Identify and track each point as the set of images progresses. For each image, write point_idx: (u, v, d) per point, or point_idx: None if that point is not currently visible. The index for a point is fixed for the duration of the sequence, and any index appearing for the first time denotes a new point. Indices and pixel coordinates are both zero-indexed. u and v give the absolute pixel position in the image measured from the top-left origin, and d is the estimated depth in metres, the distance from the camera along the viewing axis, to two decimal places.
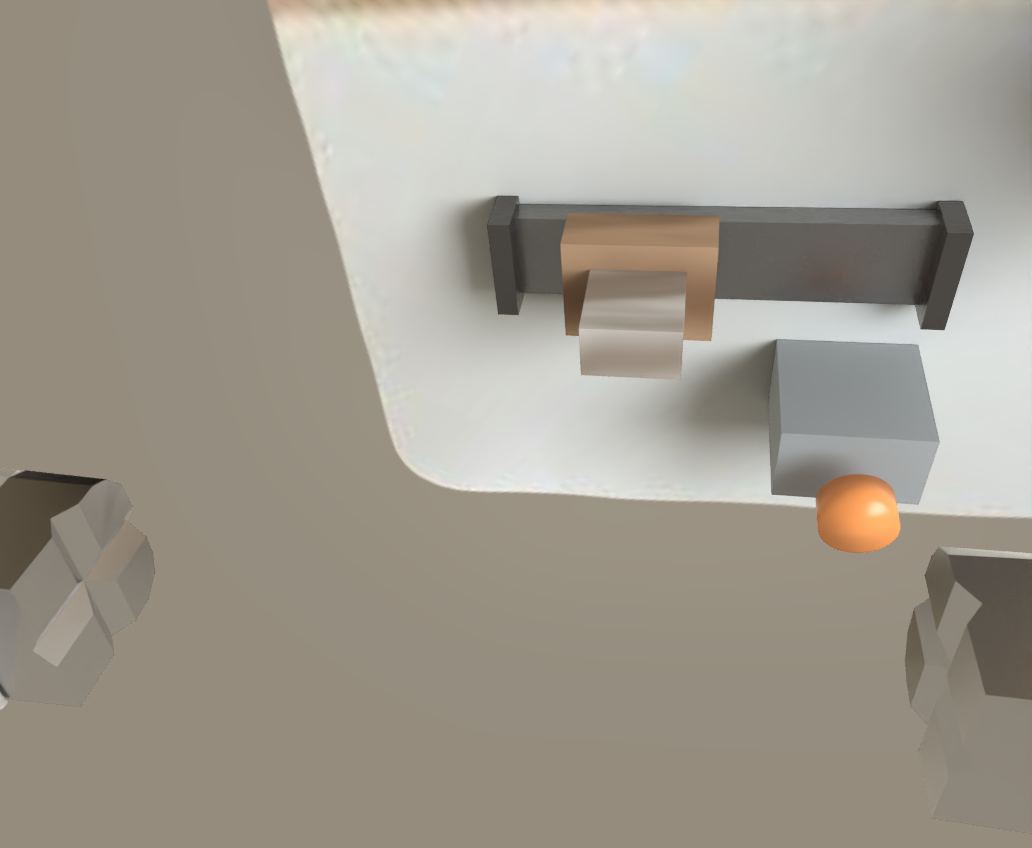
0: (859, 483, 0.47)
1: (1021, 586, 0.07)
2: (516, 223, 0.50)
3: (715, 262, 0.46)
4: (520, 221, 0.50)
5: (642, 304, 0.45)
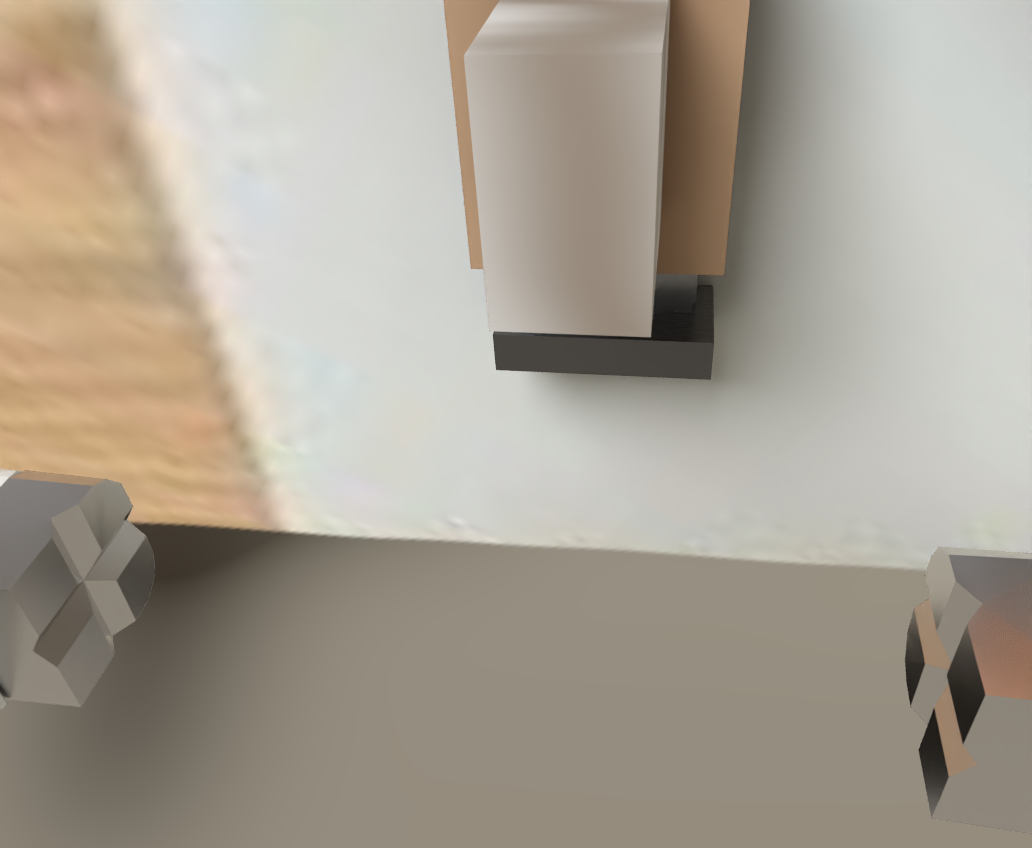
0: None
1: (1021, 586, 0.07)
2: None
3: None
4: None
5: None
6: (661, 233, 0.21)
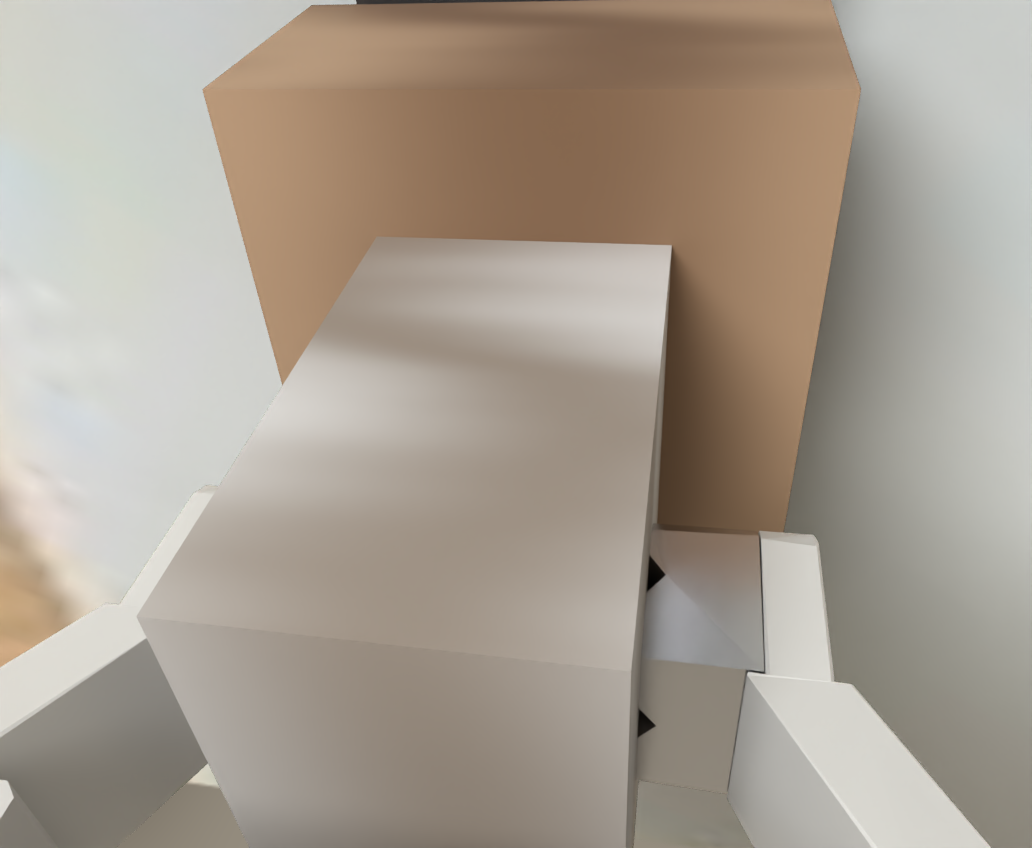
0: None
1: (707, 558, 0.08)
2: None
3: (291, 97, 0.09)
4: None
5: None
6: None
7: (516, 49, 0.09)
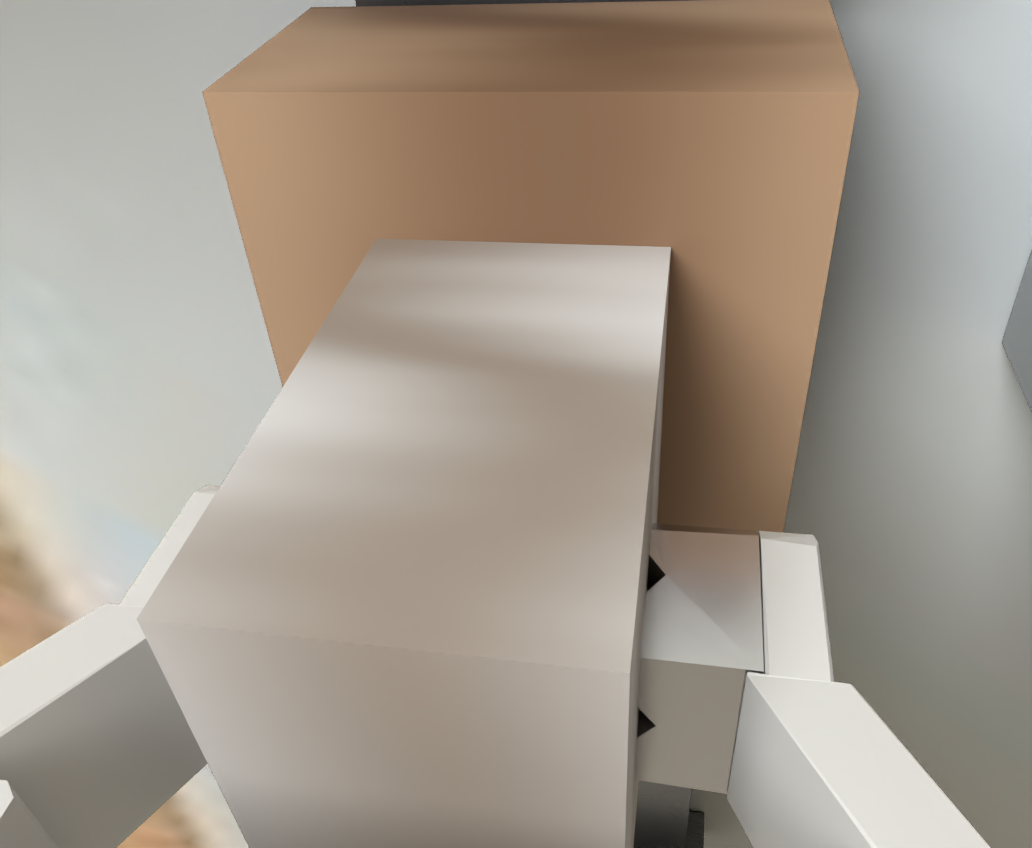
0: None
1: (707, 558, 0.08)
2: None
3: (291, 100, 0.09)
4: None
5: None
6: None
7: (515, 51, 0.09)
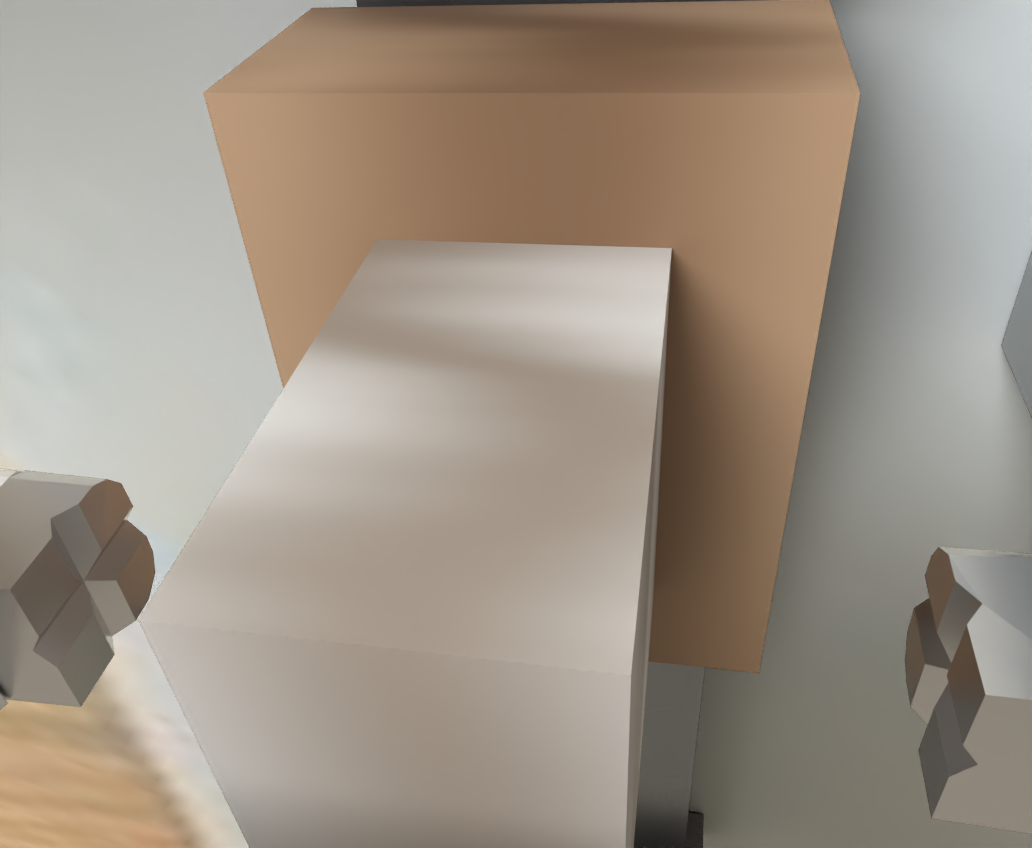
0: None
1: (1021, 586, 0.07)
2: None
3: (293, 101, 0.09)
4: None
5: None
6: (654, 613, 0.12)
7: (516, 52, 0.09)
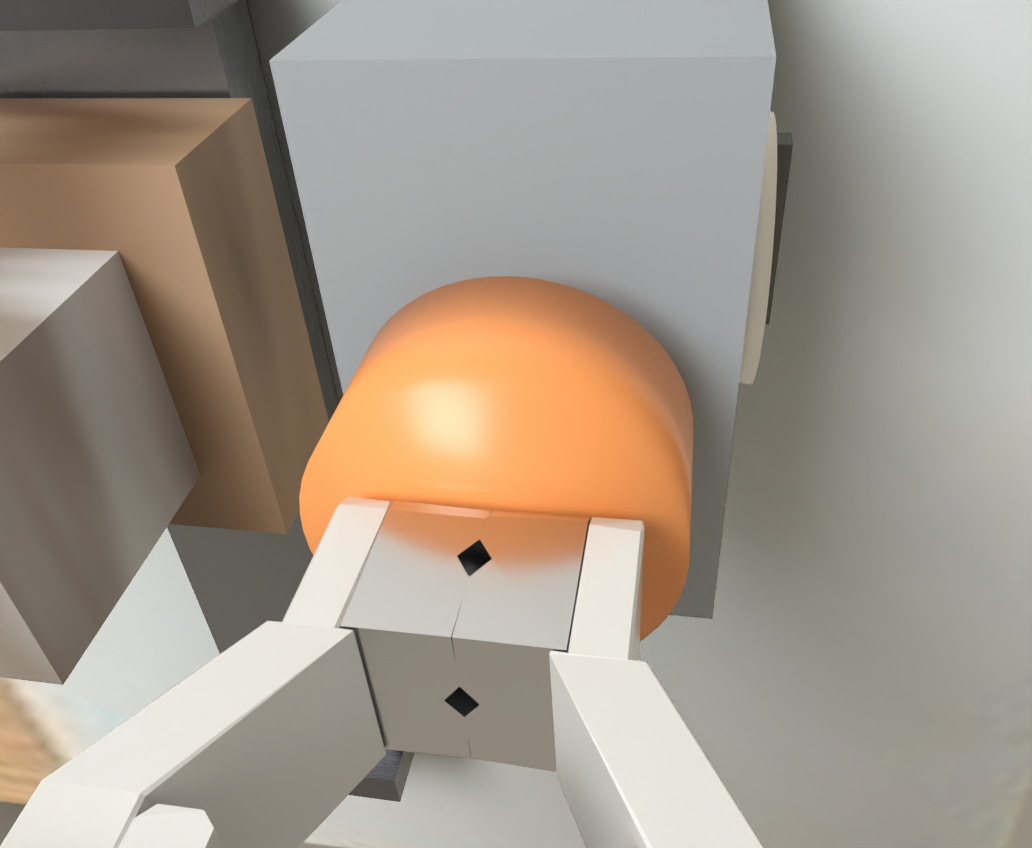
0: None
1: (534, 543, 0.08)
2: None
3: None
4: None
5: None
6: (208, 492, 0.19)
7: (34, 135, 0.15)
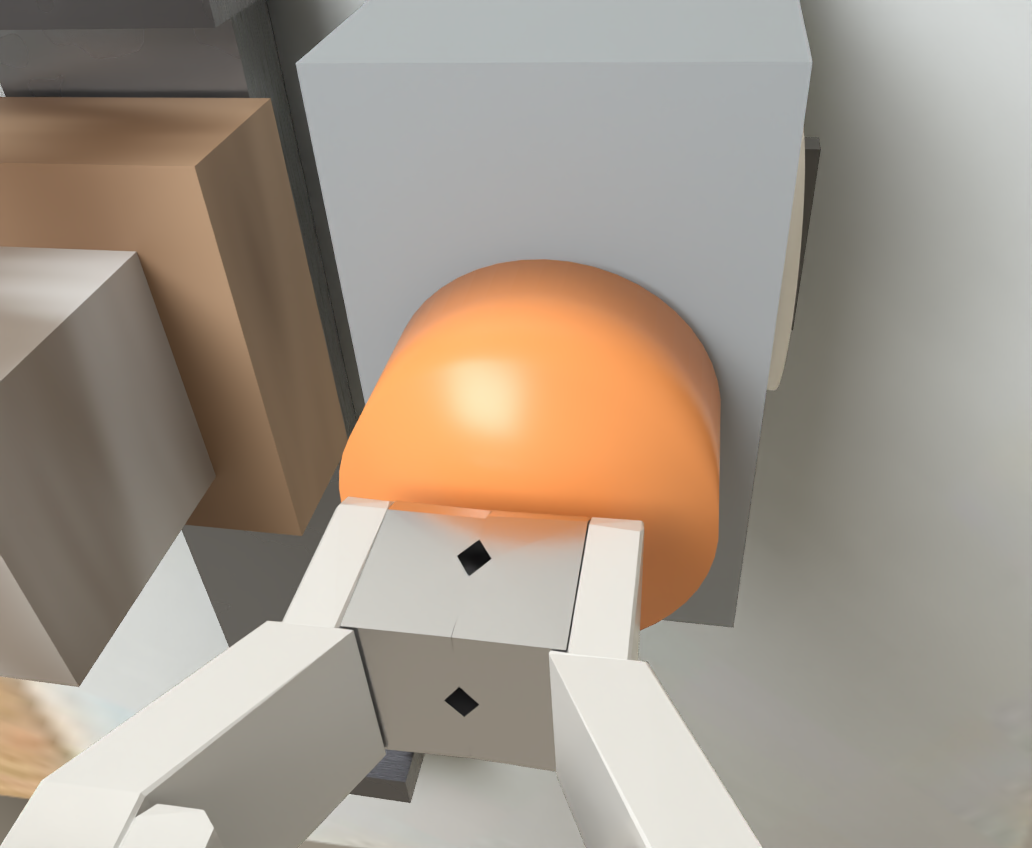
0: None
1: (534, 543, 0.08)
2: None
3: None
4: None
5: None
6: (223, 493, 0.18)
7: (53, 134, 0.15)
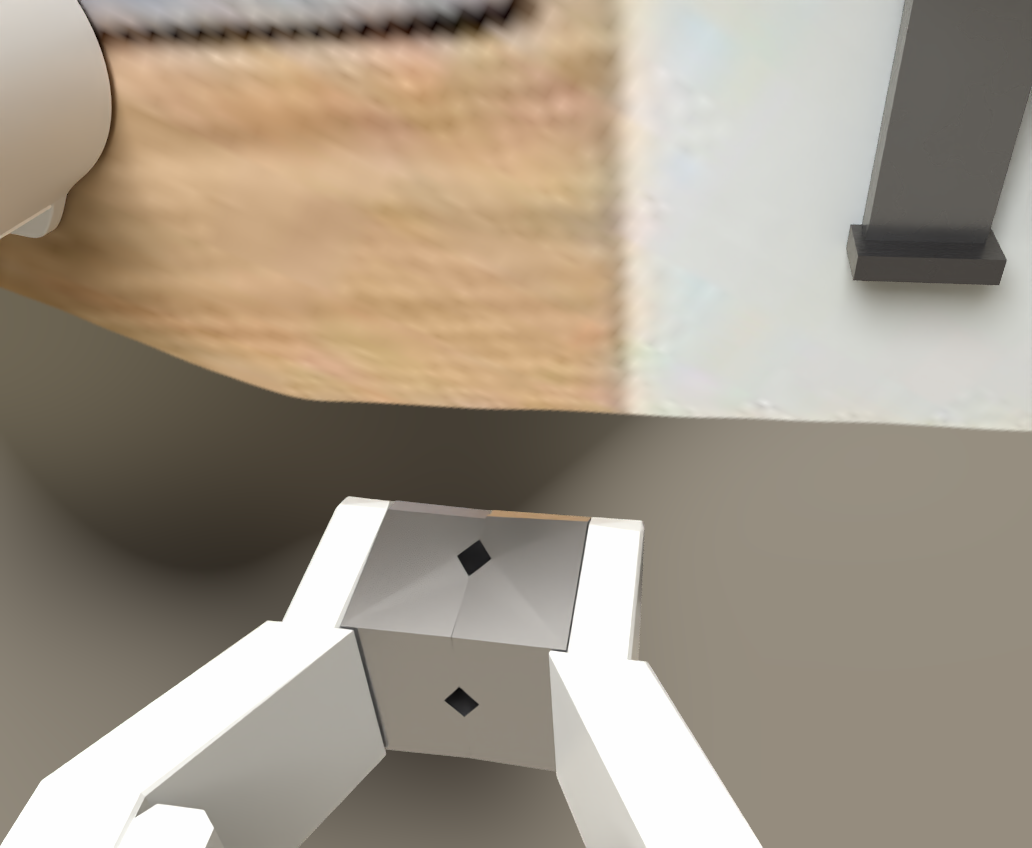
0: None
1: (534, 543, 0.08)
2: (873, 238, 0.40)
3: None
4: (871, 233, 0.40)
5: None
6: None
7: None
